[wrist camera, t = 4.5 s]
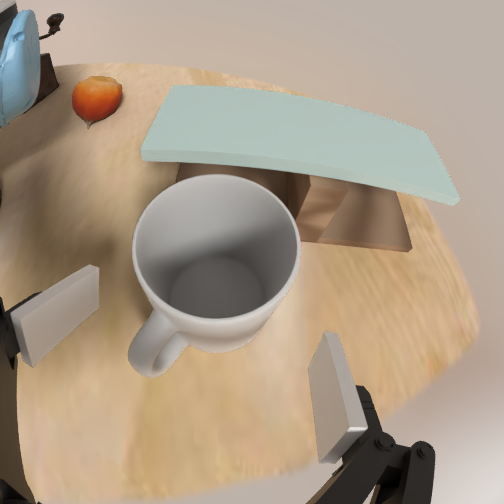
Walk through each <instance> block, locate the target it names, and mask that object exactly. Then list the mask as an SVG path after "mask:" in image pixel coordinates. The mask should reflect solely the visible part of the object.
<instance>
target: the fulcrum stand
mask: <svg viewBox="0 0 504 504" xmlns="http://www.w3.org/2000/svg"><path fill="white" fill-rule="evenodd" d="M208 174H224V175H232V176H237V177H241V178H245V179H247V180H250V181H253V182H255V183H257V184H259V185H261V186H263V187H264V188H266V189H267V190H269V191H270V192H272V193H273V194H274V195H275V196H276V197H278V198H279V199H280V200H281V202H282V203H283V204H284V205H285V206H286V207H287V209H288V210H289V211H290V213H291V215H292V217H293V218H294V220H295V223H296V225H297V228H298V231H299V235H300V241H303V242H314V243H324V244H334V245H344V246H354V247H364V248H373V249H383V250H392V251H401V252H409V251H410V250H411V249H412V244H411V240H410V237H409V233H408V229H407V226H406V222H405V219H404V215H403V212H402V209H401V206H400V203H399V200H398V197H397V194H396V191H393V190H389V189H385V188H380V187H375V186H370V185H366V184H360V183H355V182H350V181H345V180H339V179H333V178H327V177H321V176H315V175H309V174H302V173H295V172H287V171H279V170H271V169H263V168H253V167H243V166H232V165H220V164H205V163H187V162H181V165H180V169H179V172H178V176H177V180H176V183H178V182H180V181H182V180H185V179H188V178H191V177H195V176H200V175H208ZM176 183H175V184H176Z"/></svg>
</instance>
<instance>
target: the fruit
mask: <svg viewBox="0 0 504 504" xmlns="http://www.w3.org/2000/svg"><path fill="white" fill-rule="evenodd" d="M121 97H122V85H121V84H119V83H117V82H116V80H115V79H113V78H110V77H104V76H92V77H89V78H88V79H86V80H84V81H81V82H79V83H78V84H77V85H76V87H75V88H74V91H73V95H72V106H73V110H74V111H75V113H76V114H77V115H78V116H79V117H81V118H82V119H83V120H84V121H85V122H86V123H87V124H88V127H87V129H89V126H90V124H91V123H93V122H94V121H98V120H101V119H104V118H106V117H107V116H109V115H111V114H113V113H114V112H115V111H116V109H117V107H118V105H119V102H120V100H121Z"/></svg>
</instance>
